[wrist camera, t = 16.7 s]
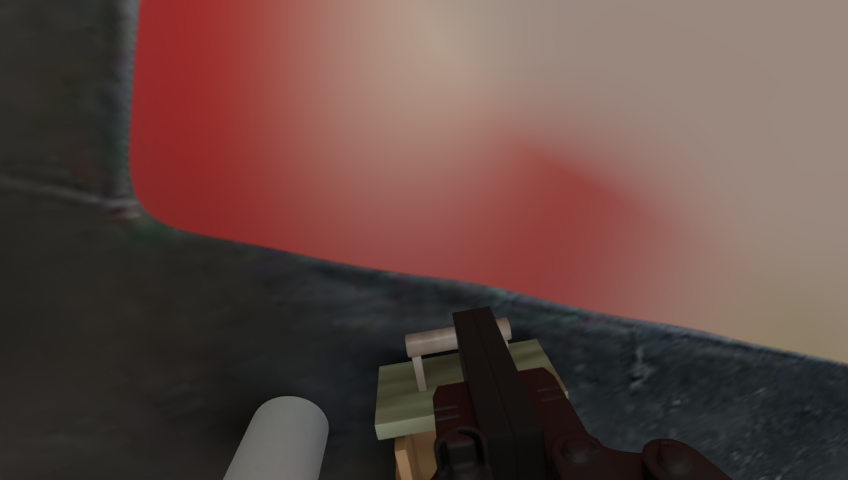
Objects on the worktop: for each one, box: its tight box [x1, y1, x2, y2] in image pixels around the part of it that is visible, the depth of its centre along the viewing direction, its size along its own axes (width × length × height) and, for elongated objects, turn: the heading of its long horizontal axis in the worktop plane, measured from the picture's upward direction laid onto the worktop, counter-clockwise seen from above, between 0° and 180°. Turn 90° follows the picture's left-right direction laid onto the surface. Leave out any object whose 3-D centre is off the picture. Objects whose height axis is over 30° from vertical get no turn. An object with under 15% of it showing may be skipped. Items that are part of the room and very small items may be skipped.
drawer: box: [375, 317, 568, 480], centre depth 31 cm, size 18×13×6 cm
